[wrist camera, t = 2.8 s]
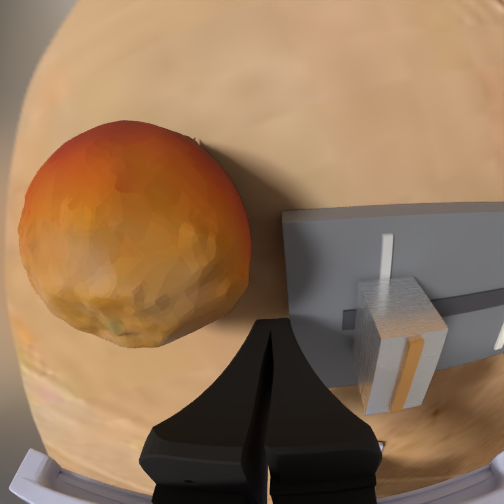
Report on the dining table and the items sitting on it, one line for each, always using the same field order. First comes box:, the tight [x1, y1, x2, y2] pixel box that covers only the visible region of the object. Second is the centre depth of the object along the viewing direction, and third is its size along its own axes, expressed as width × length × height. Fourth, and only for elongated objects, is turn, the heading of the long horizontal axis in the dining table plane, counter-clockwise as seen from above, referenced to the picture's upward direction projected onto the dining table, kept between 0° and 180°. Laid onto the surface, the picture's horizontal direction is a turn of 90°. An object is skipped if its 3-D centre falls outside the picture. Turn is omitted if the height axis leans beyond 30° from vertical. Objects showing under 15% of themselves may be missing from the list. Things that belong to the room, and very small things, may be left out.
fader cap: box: [352, 276, 448, 415], centre depth 10 cm, size 4×2×4 cm, turn 7°
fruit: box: [18, 120, 252, 348], centre depth 10 cm, size 8×8×8 cm
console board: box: [282, 202, 504, 388], centre depth 12 cm, size 9×16×2 cm, turn 97°
